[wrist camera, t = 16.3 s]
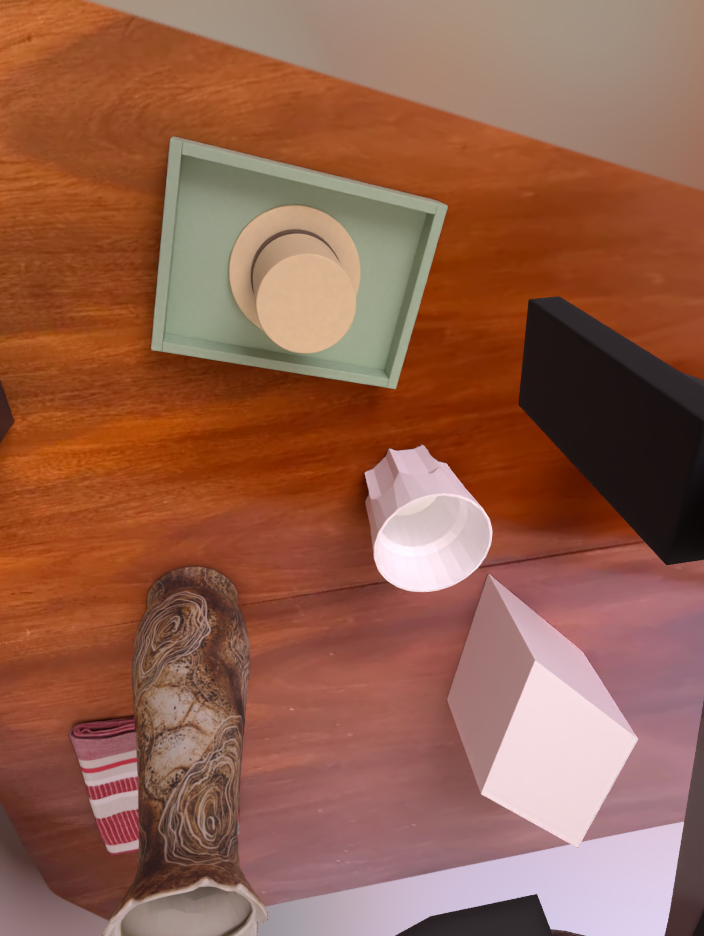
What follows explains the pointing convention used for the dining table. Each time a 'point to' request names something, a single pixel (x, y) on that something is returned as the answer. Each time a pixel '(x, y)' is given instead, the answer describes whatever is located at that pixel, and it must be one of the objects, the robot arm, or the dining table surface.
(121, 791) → the dish towel
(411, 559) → the cup
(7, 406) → the black rectangular block
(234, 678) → the vase
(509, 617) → the block
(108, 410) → the dining table surface
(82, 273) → the dining table surface
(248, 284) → the hat
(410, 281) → the tray
